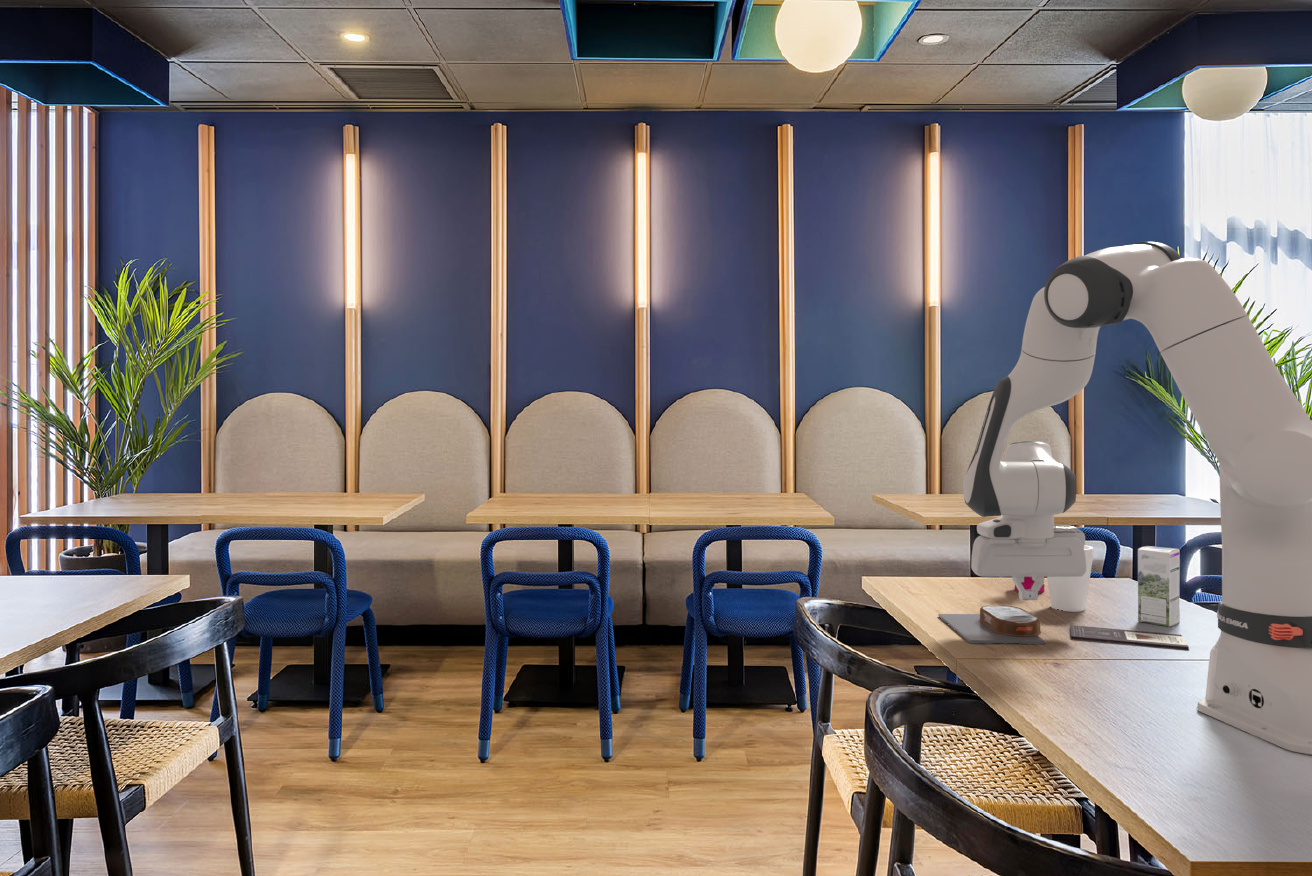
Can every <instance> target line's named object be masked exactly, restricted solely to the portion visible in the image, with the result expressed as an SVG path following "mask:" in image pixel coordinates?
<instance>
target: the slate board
mask: <svg viewBox="0 0 1312 876" xmlns="http://www.w3.org/2000/svg"><path fill="white" fill-rule="evenodd" d="M938 616H939V617H940V618H941V621H943V622H944V623H945V622H946V623H948V624H949V625H950V626H951V627H952V628H953V629H955V630H956V631H957V632H958V633H959V634H960V635H959V634H958V633H957V632H956V631H955V630H954V631H955V632H956V633H957V634H958V635H959V636H960V637H962V636H963V637H964V638H965V639H966V642H968V643H969V644H970V643H1019V644H1020V643H1021V644H1020V645H1026V644H1027V645H1029V644H1031V645H1046V639H1043V638H1042V637H1040V636H1039V635H1037V636H1029V637H1021V636H1010V635H1004V634H1000V633H997V632H994V631H993V630H991V629H990V628H989V627H987V626H986V625H984V624H983V623H982V622H980V620H979V619H980V613H938ZM938 616H937V617H938ZM939 617H938V618H939ZM940 618H939V619H940ZM946 623H945V624H946ZM948 624H947V625H948ZM949 625H948V626H949ZM950 626H949V627H950ZM951 627H950V628H951ZM952 628H951V629H952ZM953 629H952V630H953ZM963 637H962V638H963ZM964 638H963V639H964ZM965 639H964V640H965ZM1022 643H1023V644H1022ZM1025 643H1026V644H1025ZM1019 644H1018V645H1019Z"/></svg>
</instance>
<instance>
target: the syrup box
mask: <svg viewBox="0 0 1312 876" xmlns="http://www.w3.org/2000/svg"><path fill="white" fill-rule="evenodd" d="M1180 557H1181V555H1180V549H1179V548H1172V547H1160V546H1153V545H1152V546H1150V545H1146V546H1141V547H1139V548H1137V621H1138V622H1139V623H1140V622H1141V623H1144V624H1145V623H1146V624H1151V625H1158V626H1163V627H1173V626H1175V625H1177V624H1179V623H1180V620H1181V613H1180V576H1181V575H1180V574H1181V573H1180V567H1181V565H1180V564H1181V559H1180Z"/></svg>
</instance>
